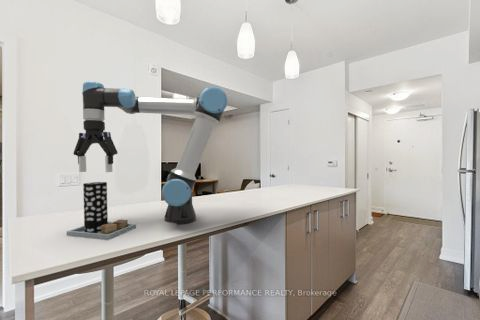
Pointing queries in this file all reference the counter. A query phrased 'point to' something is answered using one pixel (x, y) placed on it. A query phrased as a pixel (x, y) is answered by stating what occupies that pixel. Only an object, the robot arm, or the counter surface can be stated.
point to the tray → (80, 233)
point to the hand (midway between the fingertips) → (95, 172)
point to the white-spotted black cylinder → (95, 206)
